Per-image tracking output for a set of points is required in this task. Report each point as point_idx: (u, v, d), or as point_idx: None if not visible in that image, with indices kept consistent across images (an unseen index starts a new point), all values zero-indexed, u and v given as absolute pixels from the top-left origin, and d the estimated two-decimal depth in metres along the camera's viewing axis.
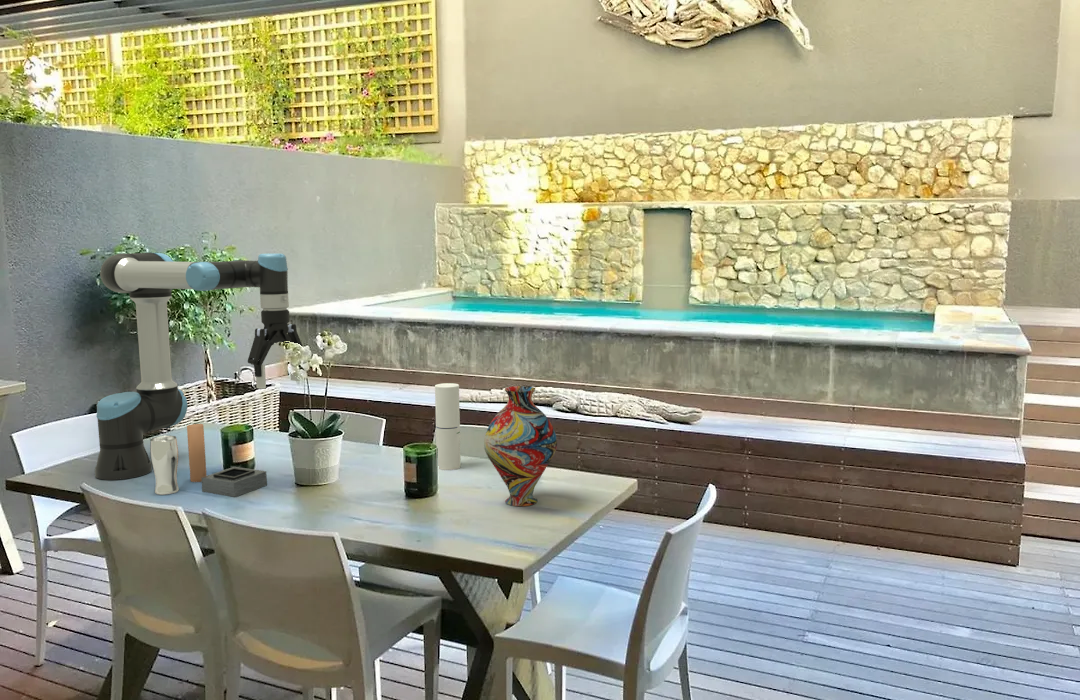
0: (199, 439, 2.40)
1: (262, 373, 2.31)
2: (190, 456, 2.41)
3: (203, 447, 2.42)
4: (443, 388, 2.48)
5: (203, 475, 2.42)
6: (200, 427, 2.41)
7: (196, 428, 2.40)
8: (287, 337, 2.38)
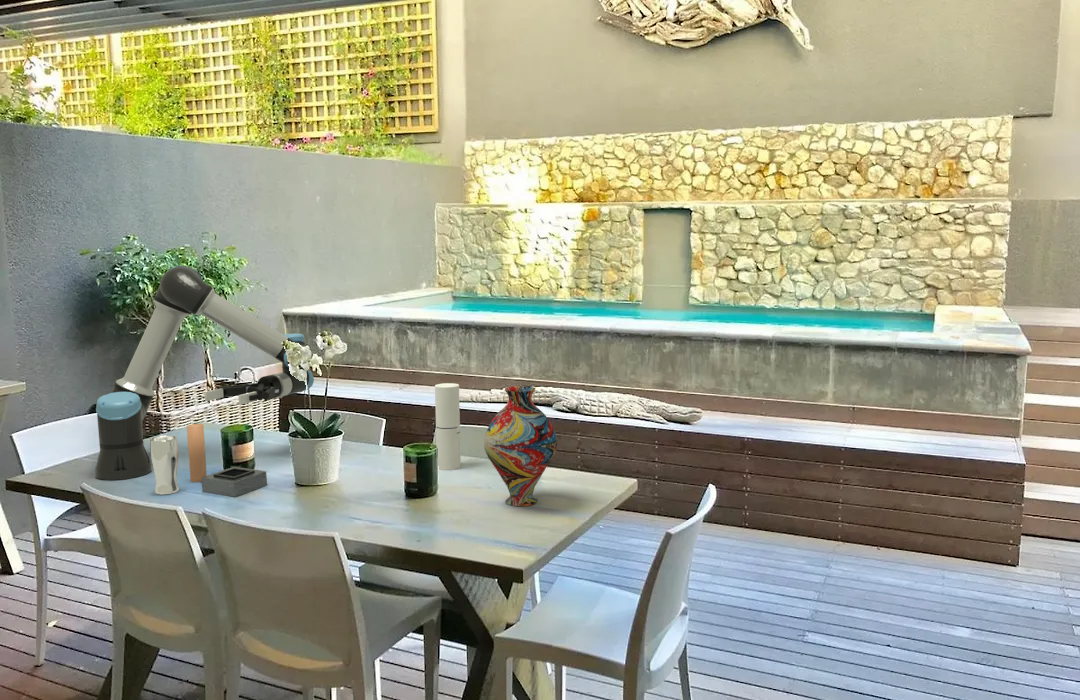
0: (199, 439, 2.40)
1: (251, 400, 2.51)
2: (190, 456, 2.41)
3: (203, 447, 2.42)
4: (443, 388, 2.48)
5: (203, 475, 2.42)
6: (200, 427, 2.41)
7: (196, 428, 2.40)
8: None
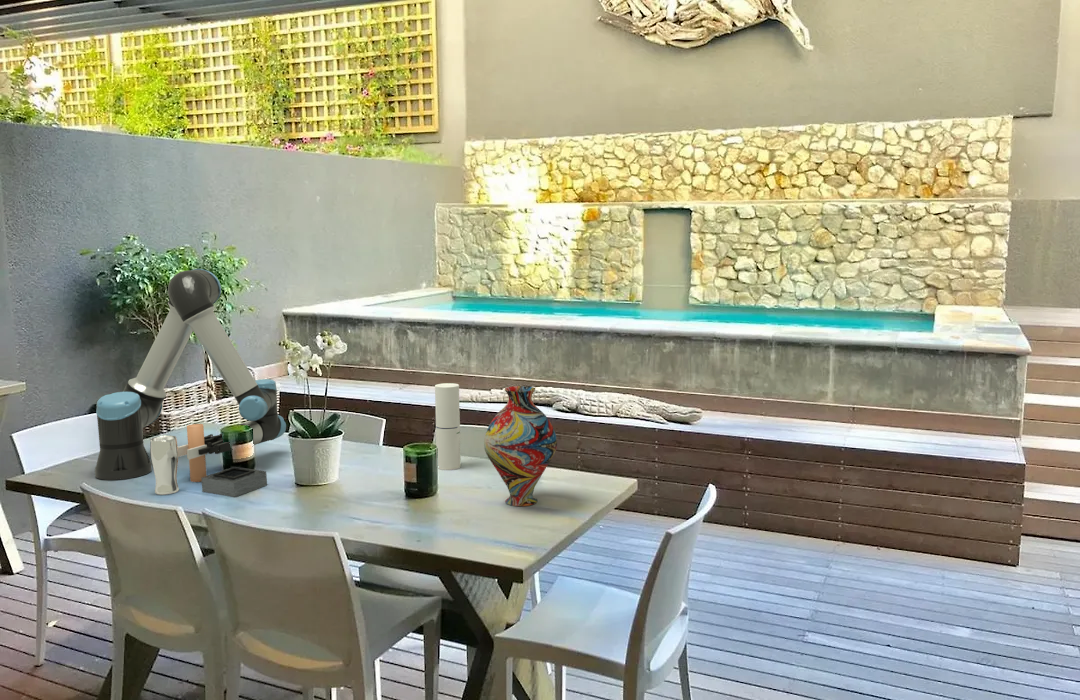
0: (199, 439, 2.40)
1: None
2: None
3: None
4: (443, 388, 2.48)
5: (203, 475, 2.42)
6: (200, 427, 2.40)
7: (196, 428, 2.40)
8: None
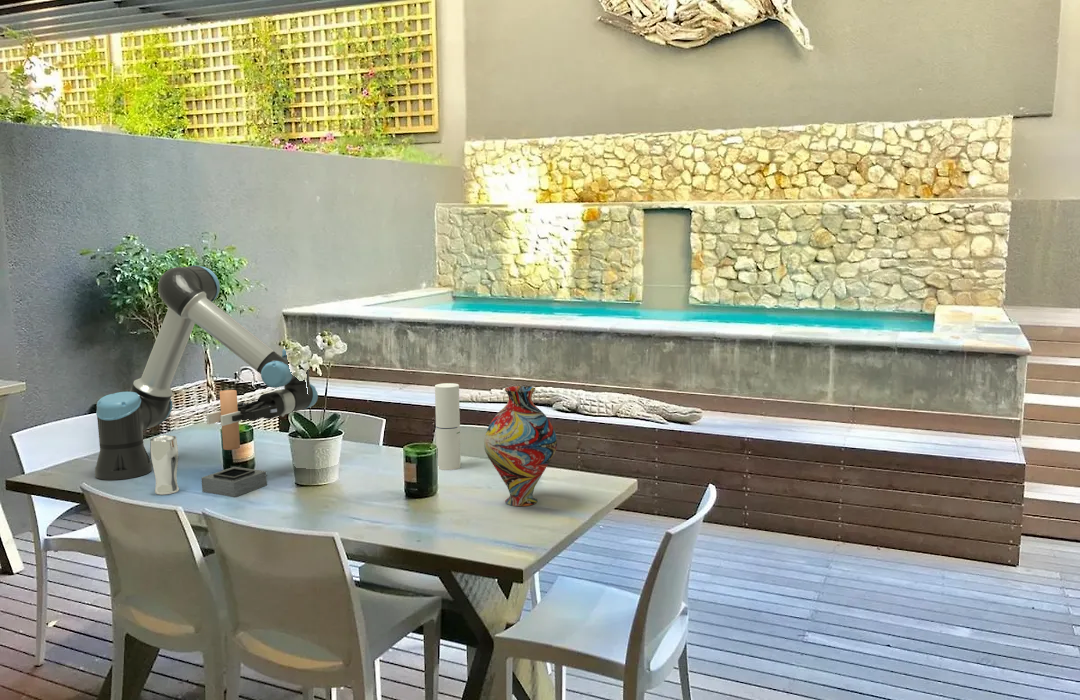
0: (232, 405, 2.31)
1: (234, 421, 2.31)
2: None
3: None
4: (443, 388, 2.48)
5: (236, 443, 2.33)
6: (233, 393, 2.31)
7: (229, 394, 2.31)
8: None
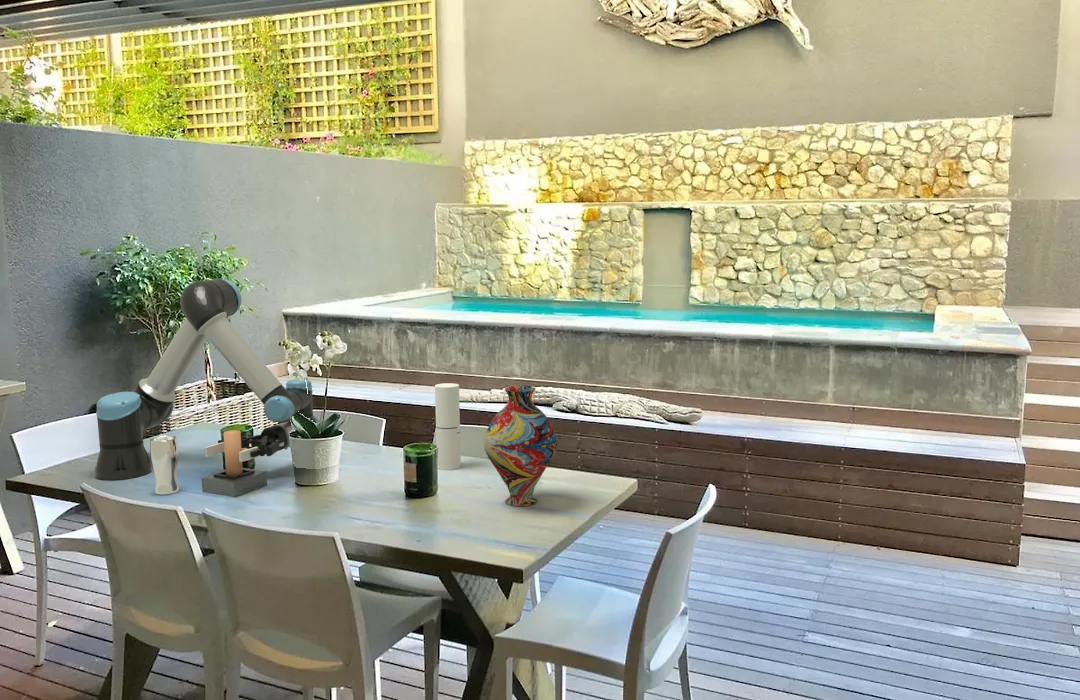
0: (236, 446, 2.32)
1: (252, 457, 2.31)
2: (227, 464, 2.32)
3: None
4: (443, 388, 2.48)
5: None
6: (237, 434, 2.32)
7: (233, 435, 2.31)
8: None
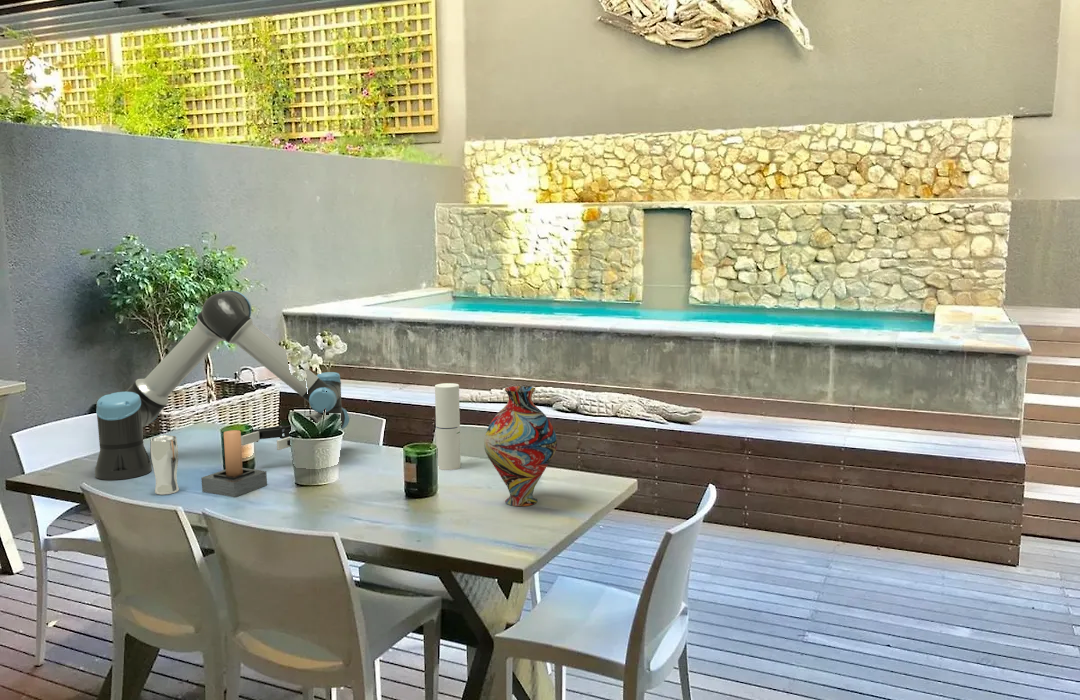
0: (236, 446, 2.32)
1: None
2: (227, 464, 2.32)
3: (240, 454, 2.34)
4: (443, 388, 2.48)
5: None
6: (237, 434, 2.32)
7: (233, 435, 2.31)
8: None
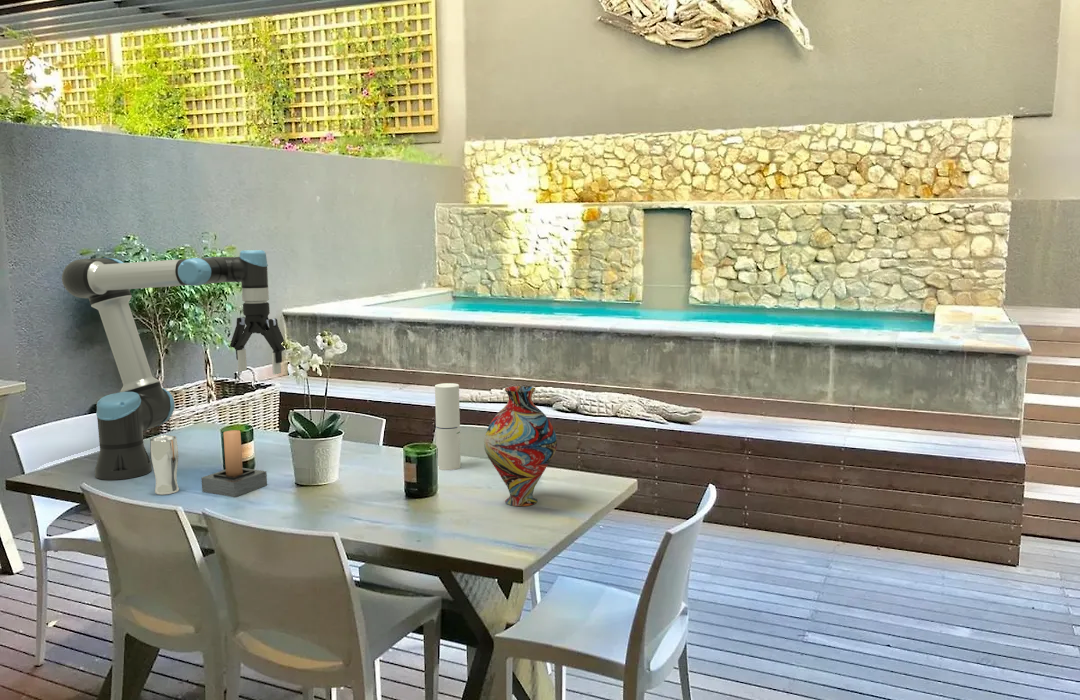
0: (236, 446, 2.32)
1: None
2: (227, 464, 2.32)
3: (240, 454, 2.34)
4: (443, 388, 2.48)
5: None
6: (237, 434, 2.32)
7: (233, 435, 2.31)
8: None
